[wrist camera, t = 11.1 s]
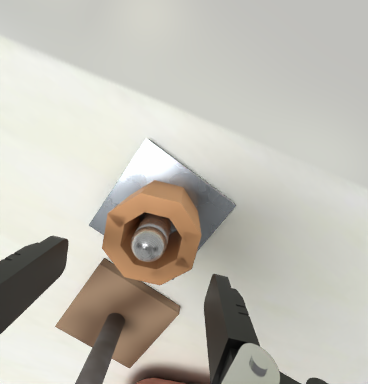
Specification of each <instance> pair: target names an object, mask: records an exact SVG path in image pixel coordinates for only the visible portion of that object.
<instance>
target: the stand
mask: <svg viewBox="0 0 368 384" xmlns="http://www.w3.org/2000/svg"><path fill="white" fill-rule="evenodd" d="M179 311H180V306H179V305H177V304H176V303H174V302H173V301H171V300H169V299H168V298H166V297H165V296H163V295H161V294H160V293H158V292H157V291H155V290H154V289H152V288H150V287H149V286H147V285H146V284H144V283H143V282H141V281H139V280H135V279H130V278H126V277H124V276H123V275H122V274H121V272H120V271H119V270H118V268H117V267H116V266H115V265H114V264H112V263H111V262H109V261H108V260H106V259H105V258H104V259H103V260H102V262H101V263H100V264H99V266H98V267H97V268H96V270H95V271H94V273H93V274H92V275H91V277H90V278H89V280H88V281H87V282H86V284H85V285H84V287H83V288H82V289H81V291H80V292H79V294H78V295H77V296H76V298H75V299H74V301H73V302H72V303H71V305H70V306H69V308H68V309H67V310H66V312H65V313H64V315H63V316H62V317H61V319H60V320H59V322H58V323H57V324H56V326H55V327H57V328H59V329H60V330H62V331H64V332H66V333H67V334H69V335H71V336H73V337H75V338H76V339H78V340H80V341H82V342H83V343H85V344H87V345H89V346H91V347H92V350H91V352H90V354H89V356H88V358H87V360H86V362H85V364H84V366H83V368H82V371H81V373H80V375H79V377H78V379H77V381H76V383H75V384H102V383H103V380H104V378H105V375H106V372H107V369H108V367H109V364H110V361H111V359H114V360H115V361H117V362H119V363H121V364H123V365H124V366H126V367H128V368H131V367H132V365H133V364H134V363H135V362H136V361H137V360H138V359H139V358H140V357H141V355H142V354H143V353H144V352H145V351H146V350H147V349H148V348H149V347H150V346H151V344H152V343H153V342H154V341H155V340H156V339H157V338H158V337H159V336H160V335H161V333H162V332H163V331H164V330H165V329H166V328H167V327H168V326H169V325H170V323H171V322H172V321H173V320H174V319H175V318H176V317H177V316H178V315H179Z"/></svg>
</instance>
